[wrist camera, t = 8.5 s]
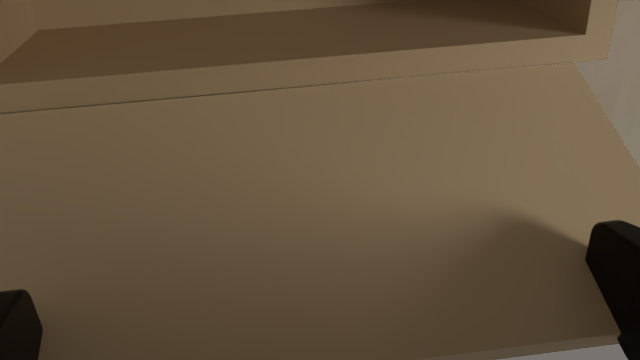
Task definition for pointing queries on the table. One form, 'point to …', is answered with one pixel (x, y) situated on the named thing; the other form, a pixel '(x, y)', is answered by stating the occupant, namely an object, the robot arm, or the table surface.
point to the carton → (273, 44)
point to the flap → (318, 220)
